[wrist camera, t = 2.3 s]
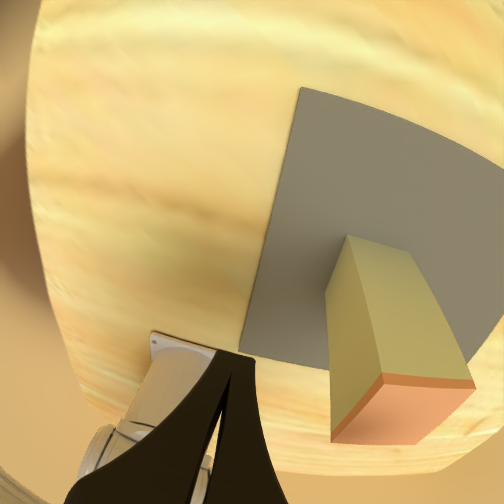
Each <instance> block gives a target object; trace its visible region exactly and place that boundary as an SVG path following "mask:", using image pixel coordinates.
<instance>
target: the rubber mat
mask: <svg viewBox="0 0 504 504" xmlns="http://www.w3.org/2000/svg"><path fill="white" fill-rule="evenodd" d="M347 235H351V236H354V237H358V238H361V239H365V240H369V241H372V242H376V243H379V244H383V245H386V246H390V247H393V248H397V249H400V250H403V251H407V252H409V253H410V255H411V256H412V258H413V260H414V261H415V263H416V265H417V266H418V268H419V270H420V272H421V273H422V275H423V277H424V279H425V280H426V282H427V284H428V286H429V288H430V289H431V291H432V293H433V295H434V297H435V299H436V301H437V302H438V304H439V306H440V308H441V310H442V312H443V314H444V316H445V318H446V320H447V322H448V324H449V326H450V328H451V330H452V333H453V335H454V337H455V339H456V341H457V343H458V346H459V348H460V350H461V352H462V355H463V357H464V359H465V362H466V364H467V363H468V362H469V361H470V360H471V358H472V357H473V356H474V355H475V353H476V352H477V351H478V350H479V348H480V347H481V346H482V344H483V343H484V342H485V340H486V339H487V337H488V336H489V335H490V333H491V332H492V330H493V329H494V328H495V326H496V325H497V323H498V322H499V320H500V319H501V317H502V316H503V314H504V169H502V168H501V167H499V166H497V165H496V164H494V163H492V162H491V161H489V160H487V159H485V158H484V157H482V156H480V155H478V154H477V153H475V152H473V151H471V150H469V149H467V148H465V147H463V146H462V145H460V144H458V143H456V142H454V141H452V140H450V139H448V138H446V137H443V136H441V135H439V134H437V133H435V132H433V131H431V130H428V129H426V128H424V127H422V126H419V125H417V124H415V123H412V122H410V121H407V120H405V119H402V118H400V117H397V116H395V115H392V114H389V113H387V112H384V111H381V110H379V109H376V108H373V107H370V106H367V105H364V104H361V103H358V102H355V101H352V100H348V99H345V98H342V97H338V96H335V95H332V94H328V93H324V92H321V91H317V90H313V89H309V88H305V87H301V91H300V95H299V100H298V104H297V108H296V113H295V117H294V122H293V126H292V130H291V135H290V139H289V143H288V148H287V152H286V156H285V160H284V165H283V169H282V173H281V178H280V182H279V186H278V190H277V194H276V199H275V203H274V207H273V211H272V215H271V220H270V224H269V228H268V232H267V236H266V240H265V245H264V249H263V253H262V257H261V261H260V265H259V269H258V273H257V278H256V282H255V286H254V290H253V294H252V298H251V302H250V306H249V310H248V314H247V318H246V322H245V326H244V330H243V334H242V338H241V342H240V346H239V350H238V352H242V353H246V354H251V355H255V356H259V357H264V358H268V359H273V360H277V361H282V362H287V363H292V364H297V365H302V366H307V367H312V368H318V369H324V370H329V371H330V369H329V347H328V330H327V315H326V302H325V291H326V288H327V286H328V283H329V281H330V278H331V276H332V273H333V271H334V268H335V266H336V263H337V260H338V258H339V255H340V252H341V250H342V247H343V244H344V242H345V239H346V236H347Z"/></svg>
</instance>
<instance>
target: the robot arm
mask: <svg viewBox="0 0 504 504" xmlns="http://www.w3.org/2000/svg"><path fill="white" fill-rule="evenodd" d="M149 339H150V352H151V366H150V368H149V370H148V372H147V374H146V376H145V378H144V380H143V382H142V384H141V386H140V388H139V390H138V392H137V394H136V396H135V398H134V400H133V402H132V404H131V406H130V408H129V410H128V412H127V414H126V416H125V419H121V420H120V423H119V425H118V427H117V429H116V427H115V426H113V425H112V424H108V425H107V426H102V427H100V428H99V429H98V431H97V432H96V434H95V436H94V437H93V439H92V441H91V443H90V445H89V446H88V448H87V451H86V453H85V455H84V458H83V460H82V462H81V465H80V469H79V472H78V481H77V482H76V484H74V486H73V487H72V488H71V490H70V491H69V493H68V495H67V497H66V499H65V502H64V504H288V502H287V500H286V498H285V495H284V493H283V491H282V488H281V486H280V484H279V482H278V479H277V477H276V474H275V472H274V468H273V466H272V463H271V460H270V456H269V453H268V450H267V446H266V443H265V439H264V435H263V430H262V426H261V421H260V416H259V410H258V403H257V396H256V385H255V362H256V361H255V359H254V358H251V357H247V356H243V355H239V354H235V353H231V352H227V351H223V350H213V349H209V348H206V347H202V346H199V345H195V344H192V343H188V342H185V341H182V340H178V339H175V338H172V337H169V336H166V335H162V334H159V333H156V332H152V333H151V334H150V336H149ZM221 411H222V414H221ZM220 414H221V420H220V427H219V433H218V439H217V445H216V452H215V458H214V463H213V467H209V465H210V461H211V456H208V455H206V452H207V449H208V445H209V443H210V440H211V437H212V435H213V432H214V430H215V427H216V424H217V422H218V419H219V417H220ZM115 430H116V431H115ZM0 504H49V503H48V502H46V501H45V500H43V499H42V498H40V497H39V496H37V495H36V494H34V493H33V492H31V491H30V490H29V489H27V488H26V487H25V486H23V485H22V484H21V483H19V482H18V481H17V480H15V479H14V478H13V477H11V476H10V475H9V474H8V473H6V472H5V471H4V470H3V468H2V467H1V466H0Z"/></svg>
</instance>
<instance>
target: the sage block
mask: <svg viewBox="0 0 504 504" xmlns="http://www.w3.org/2000/svg"><path fill="white" fill-rule="evenodd" d="M325 302H326V315H327V330H328V347H329V369H330V405H331V443H341V444H358V445H415V444H417V443H418V442H419V441H421V440H422V439H423V438H424V437H426V436H427V435H428V434H429V433H430V432H432V431H433V430H434V429H435V428H436V427H437V426H439V425H440V424H441V423H442V422H443V421H444V420H445V419H446V418H448V417H449V416H450V415H451V414H452V413H453V412H454V411H455V410H456V409H457V408H458V407H459V406H460V405H461V404H462V403H463V402H464V401H465V400H466V399H467V398H468V397H469V396H470V395H471V394H472V393H473V392H474V391H475V390H476V387H475V384H474V381H473V379H472V376H471V374H470V371H469V369H468V366H467V364H466V362H465V359H464V357H463V355H462V352H461V350H460V348H459V346H458V343H457V341H456V339H455V337H454V335H453V333H452V330H451V328H450V326H449V324H448V322H447V320H446V318H445V316H444V314H443V312H442V310H441V308H440V306H439V304H438V302H437V301H436V299H435V297H434V295H433V293H432V291H431V289H430V288H429V286H428V284H427V282H426V280H425V279H424V277H423V275H422V273H421V272H420V270H419V268H418V266H417V265H416V263H415V261H414V260H413V258H412V256H411V255H410V253H409V252H407V251H403V250H400V249H397V248H393V247H390V246H386V245H383V244H379V243H376V242H372V241H369V240H365V239H361V238H358V237H354V236H351V235H347V236H346V239H345V242H344V244H343V247H342V250H341V252H340V255H339V258H338V260H337V263H336V266H335V268H334V271H333V273H332V276H331V278H330V281H329V283H328V286H327V288H326V291H325Z"/></svg>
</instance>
